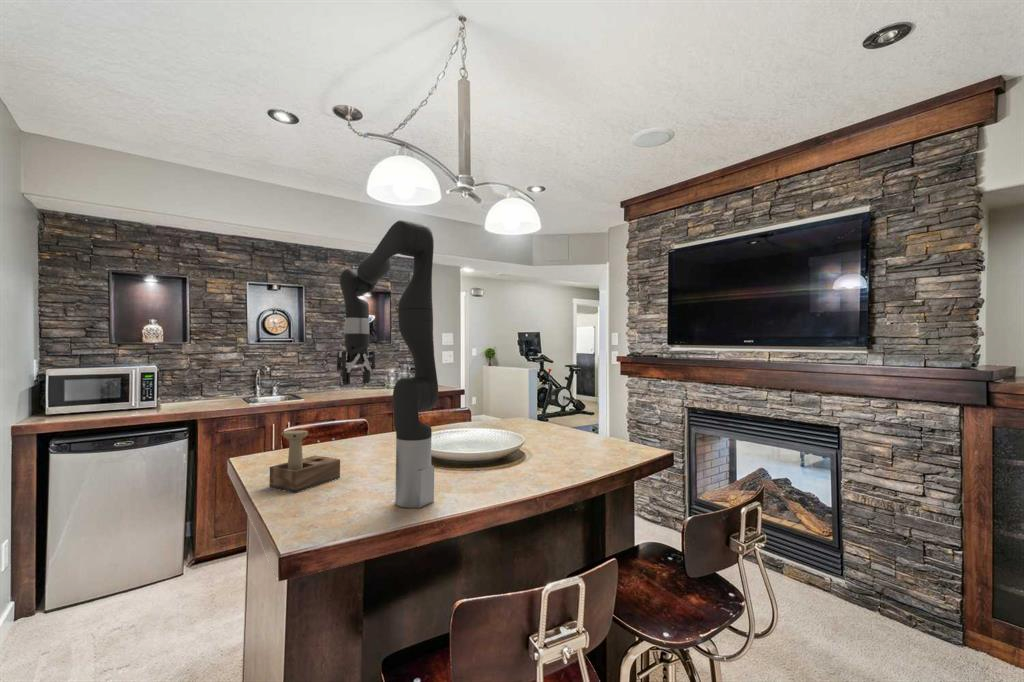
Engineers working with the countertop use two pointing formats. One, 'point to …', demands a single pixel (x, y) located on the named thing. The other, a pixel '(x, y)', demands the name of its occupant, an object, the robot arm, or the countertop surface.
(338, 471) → the socket block
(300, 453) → the handle
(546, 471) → the countertop surface
